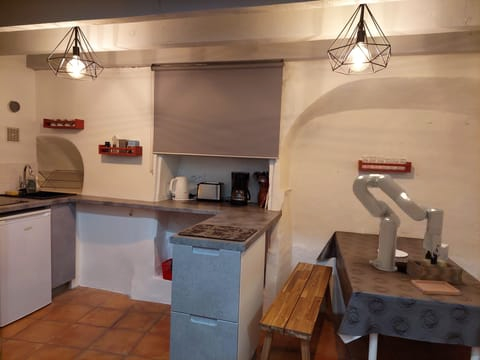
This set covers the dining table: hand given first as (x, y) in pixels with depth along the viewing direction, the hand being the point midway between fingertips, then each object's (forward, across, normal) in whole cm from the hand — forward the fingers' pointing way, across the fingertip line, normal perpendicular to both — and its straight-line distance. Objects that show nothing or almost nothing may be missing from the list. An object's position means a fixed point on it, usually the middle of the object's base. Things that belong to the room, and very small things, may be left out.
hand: (430, 262), depth 180 cm
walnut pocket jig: (+9, 0, +2) cm, 9 cm away
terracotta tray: (+9, +15, -6) cm, 18 cm away
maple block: (+5, 0, +2) cm, 5 cm away
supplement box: (+9, -17, +14) cm, 24 cm away
